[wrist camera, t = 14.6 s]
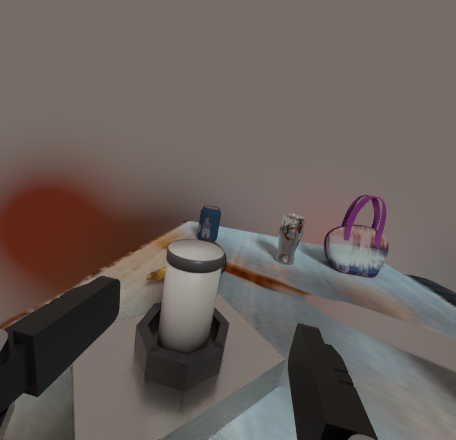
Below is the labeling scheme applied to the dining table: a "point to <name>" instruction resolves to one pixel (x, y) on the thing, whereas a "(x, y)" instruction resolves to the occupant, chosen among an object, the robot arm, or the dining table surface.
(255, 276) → the dining table surface
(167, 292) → the canister
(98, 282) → the robot arm
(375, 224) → the handbag
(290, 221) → the beer glass
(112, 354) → the slab with octagonal socket
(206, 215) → the soda can
